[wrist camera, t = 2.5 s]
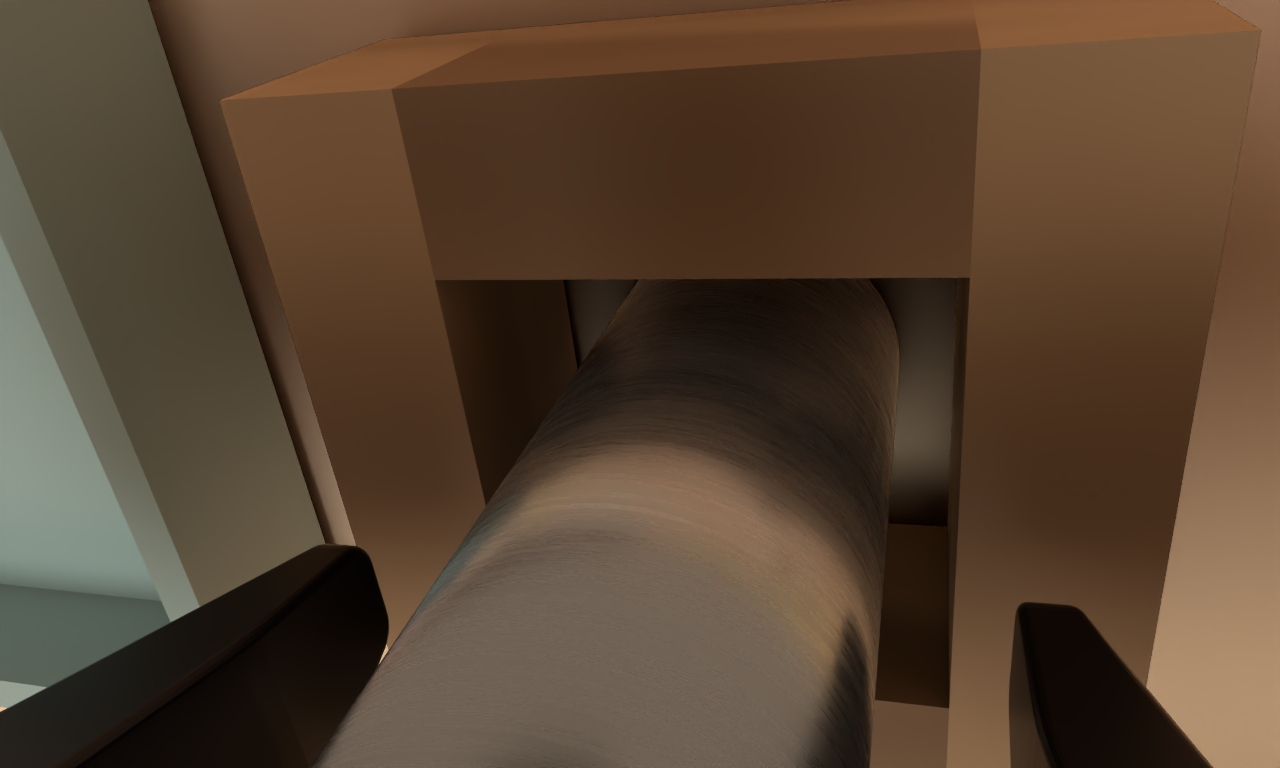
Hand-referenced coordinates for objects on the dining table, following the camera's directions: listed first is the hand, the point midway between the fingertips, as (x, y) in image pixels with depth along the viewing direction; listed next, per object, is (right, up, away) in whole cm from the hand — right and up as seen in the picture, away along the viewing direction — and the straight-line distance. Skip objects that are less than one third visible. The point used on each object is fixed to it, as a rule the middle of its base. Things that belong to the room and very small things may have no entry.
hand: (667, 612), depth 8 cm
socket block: (+1, +2, +4) cm, 4 cm away
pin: (+1, +2, +4) cm, 4 cm away
